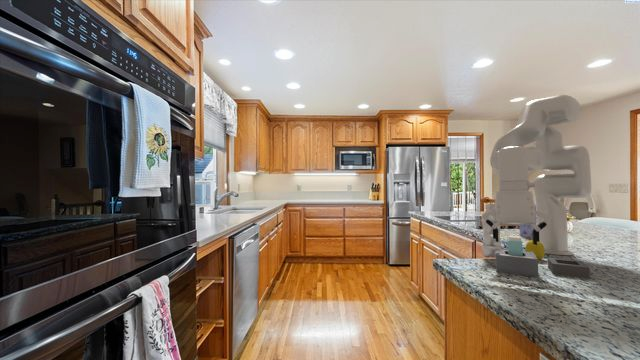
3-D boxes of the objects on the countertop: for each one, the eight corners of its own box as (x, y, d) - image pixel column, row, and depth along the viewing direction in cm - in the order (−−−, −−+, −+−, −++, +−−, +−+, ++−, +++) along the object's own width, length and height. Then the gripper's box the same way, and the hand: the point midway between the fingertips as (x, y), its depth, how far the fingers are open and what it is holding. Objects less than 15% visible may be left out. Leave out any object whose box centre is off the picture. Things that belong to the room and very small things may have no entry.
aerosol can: (521, 236, 148) (520, 199, 149) (517, 234, 155) (516, 198, 156) (539, 237, 145) (538, 199, 146) (534, 235, 152) (533, 198, 153)
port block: (495, 266, 91) (495, 248, 92) (533, 271, 86) (533, 251, 86) (496, 275, 83) (495, 254, 83) (538, 280, 78) (537, 258, 78)
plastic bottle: (479, 257, 103) (477, 204, 104) (485, 255, 108) (484, 203, 108) (498, 261, 98) (497, 205, 99) (505, 258, 103) (503, 204, 103)
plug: (508, 267, 87) (507, 235, 88) (521, 268, 86) (520, 236, 86) (508, 270, 84) (508, 237, 85) (523, 271, 83) (522, 238, 83)
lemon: (548, 264, 95) (548, 240, 95) (530, 263, 96) (530, 240, 96) (539, 260, 100) (538, 237, 100) (522, 259, 101) (521, 237, 101)
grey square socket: (547, 270, 87) (547, 257, 88) (582, 274, 83) (581, 261, 83) (552, 277, 81) (552, 263, 81) (590, 282, 76) (589, 267, 77)
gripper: (547, 186, 84) (549, 242, 84) (481, 187, 93) (483, 238, 93) (552, 186, 78) (554, 248, 77) (480, 187, 87) (482, 242, 86)
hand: (515, 242), depth 85 cm, fingers open, 9 cm apart
